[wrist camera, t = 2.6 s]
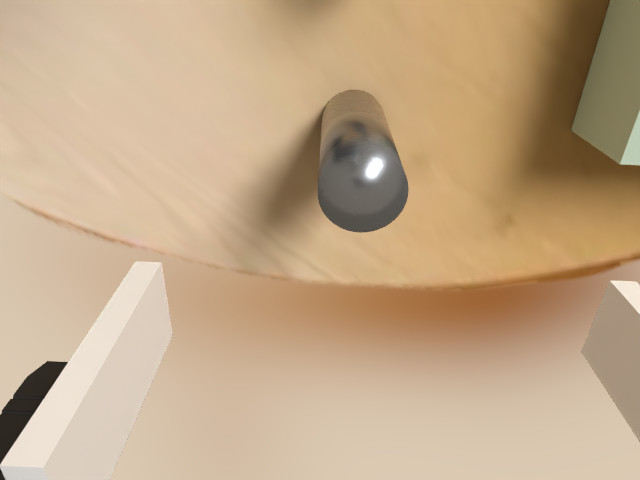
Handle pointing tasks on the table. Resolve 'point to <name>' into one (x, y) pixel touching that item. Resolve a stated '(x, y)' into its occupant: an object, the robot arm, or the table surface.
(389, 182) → the long pin
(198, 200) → the table surface
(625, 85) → the guide block
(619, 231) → the table surface
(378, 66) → the table surface
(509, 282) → the table surface
